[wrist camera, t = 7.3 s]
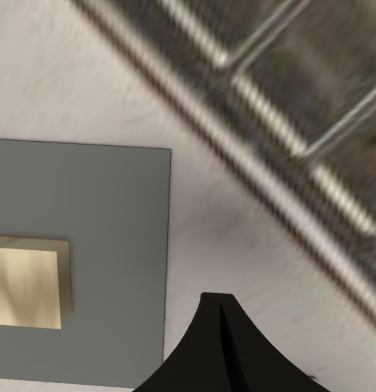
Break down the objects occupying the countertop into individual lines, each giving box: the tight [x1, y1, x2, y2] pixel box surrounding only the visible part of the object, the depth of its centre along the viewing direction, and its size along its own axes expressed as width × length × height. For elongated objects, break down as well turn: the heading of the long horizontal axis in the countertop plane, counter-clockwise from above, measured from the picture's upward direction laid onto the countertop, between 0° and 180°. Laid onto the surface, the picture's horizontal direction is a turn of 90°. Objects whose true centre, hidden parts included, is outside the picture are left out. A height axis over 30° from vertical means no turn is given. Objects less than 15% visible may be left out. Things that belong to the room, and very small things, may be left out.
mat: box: [0, 139, 171, 389], centre depth 22 cm, size 20×16×1 cm
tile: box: [0, 236, 73, 329], centre depth 21 cm, size 6×2×7 cm
